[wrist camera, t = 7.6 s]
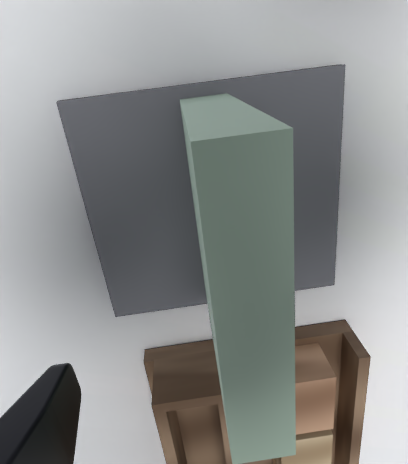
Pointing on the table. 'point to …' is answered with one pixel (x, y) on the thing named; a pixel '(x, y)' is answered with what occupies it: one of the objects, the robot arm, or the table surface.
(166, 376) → the rack
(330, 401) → the offcut
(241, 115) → the green rectangular block
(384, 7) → the table surface
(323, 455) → the offcut
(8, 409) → the robot arm
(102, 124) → the mat
